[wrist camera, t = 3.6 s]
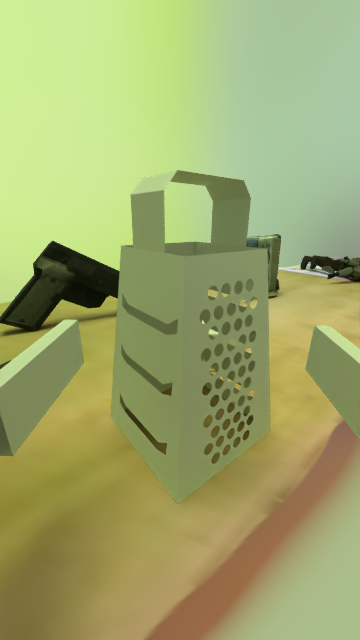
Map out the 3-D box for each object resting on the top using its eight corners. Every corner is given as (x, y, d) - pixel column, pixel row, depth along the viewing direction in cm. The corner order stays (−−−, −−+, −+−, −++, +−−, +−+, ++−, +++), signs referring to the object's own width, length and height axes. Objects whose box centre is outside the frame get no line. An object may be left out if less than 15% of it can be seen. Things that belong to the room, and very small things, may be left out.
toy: (275, 271, 99) (342, 296, 74) (279, 249, 96) (351, 267, 70) (334, 267, 109) (413, 289, 83) (340, 247, 105) (424, 262, 80)
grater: (270, 430, 23) (313, 178, 16) (177, 504, 17) (181, 149, 10) (193, 377, 31) (199, 191, 24) (110, 415, 25) (84, 180, 18)
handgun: (132, 356, 54) (162, 291, 53) (-2, 322, 40) (34, 232, 39) (128, 351, 56) (157, 288, 55) (-1, 317, 42) (34, 232, 41)
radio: (206, 281, 81) (208, 231, 76) (230, 279, 84) (234, 231, 79) (251, 301, 61) (258, 235, 56) (280, 297, 64) (290, 234, 59)
